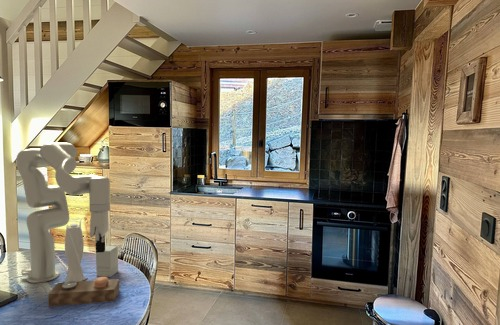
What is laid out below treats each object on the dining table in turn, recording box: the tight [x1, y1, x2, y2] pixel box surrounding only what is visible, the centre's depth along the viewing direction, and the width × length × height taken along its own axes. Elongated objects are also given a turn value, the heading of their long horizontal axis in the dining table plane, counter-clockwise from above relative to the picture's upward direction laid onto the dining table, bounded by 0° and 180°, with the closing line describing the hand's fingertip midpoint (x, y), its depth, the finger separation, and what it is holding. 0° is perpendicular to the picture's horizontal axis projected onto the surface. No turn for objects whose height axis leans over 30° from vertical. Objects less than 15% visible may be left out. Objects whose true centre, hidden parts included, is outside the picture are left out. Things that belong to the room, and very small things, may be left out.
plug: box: [62, 281, 77, 290], centre depth 131 cm, size 5×5×6 cm
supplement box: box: [95, 245, 119, 278], centre depth 156 cm, size 7×7×13 cm
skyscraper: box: [63, 221, 88, 282], centre depth 147 cm, size 8×8×28 cm
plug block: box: [47, 278, 120, 308], centre depth 133 cm, size 24×10×5 cm, turn 101°
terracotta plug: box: [93, 276, 109, 288], centre depth 134 cm, size 5×5×6 cm
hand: (100, 251), depth 133 cm, fingers closed
